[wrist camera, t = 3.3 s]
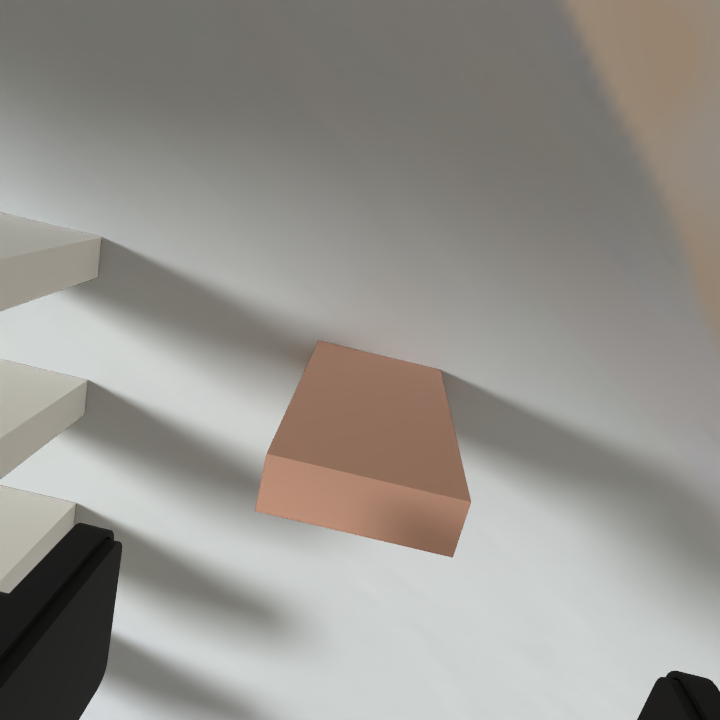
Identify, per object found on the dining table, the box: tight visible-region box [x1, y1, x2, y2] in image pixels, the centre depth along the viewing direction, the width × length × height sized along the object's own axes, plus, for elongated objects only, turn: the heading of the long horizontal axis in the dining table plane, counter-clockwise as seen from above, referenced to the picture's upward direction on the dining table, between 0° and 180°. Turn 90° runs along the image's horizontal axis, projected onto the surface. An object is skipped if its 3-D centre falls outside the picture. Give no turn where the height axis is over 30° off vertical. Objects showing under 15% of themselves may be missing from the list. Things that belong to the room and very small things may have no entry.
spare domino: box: [255, 341, 471, 557], centre depth 19 cm, size 2×5×10 cm, turn 77°
